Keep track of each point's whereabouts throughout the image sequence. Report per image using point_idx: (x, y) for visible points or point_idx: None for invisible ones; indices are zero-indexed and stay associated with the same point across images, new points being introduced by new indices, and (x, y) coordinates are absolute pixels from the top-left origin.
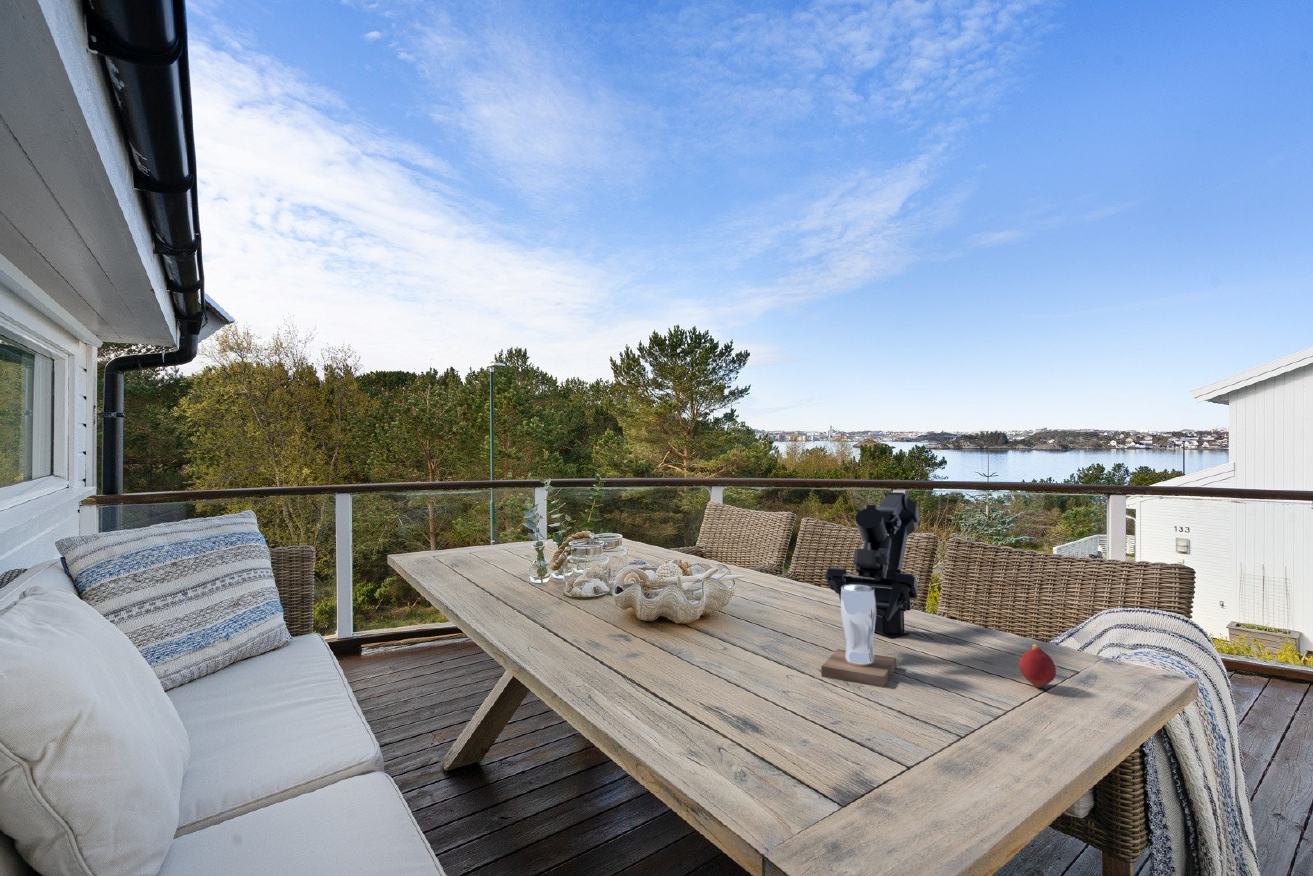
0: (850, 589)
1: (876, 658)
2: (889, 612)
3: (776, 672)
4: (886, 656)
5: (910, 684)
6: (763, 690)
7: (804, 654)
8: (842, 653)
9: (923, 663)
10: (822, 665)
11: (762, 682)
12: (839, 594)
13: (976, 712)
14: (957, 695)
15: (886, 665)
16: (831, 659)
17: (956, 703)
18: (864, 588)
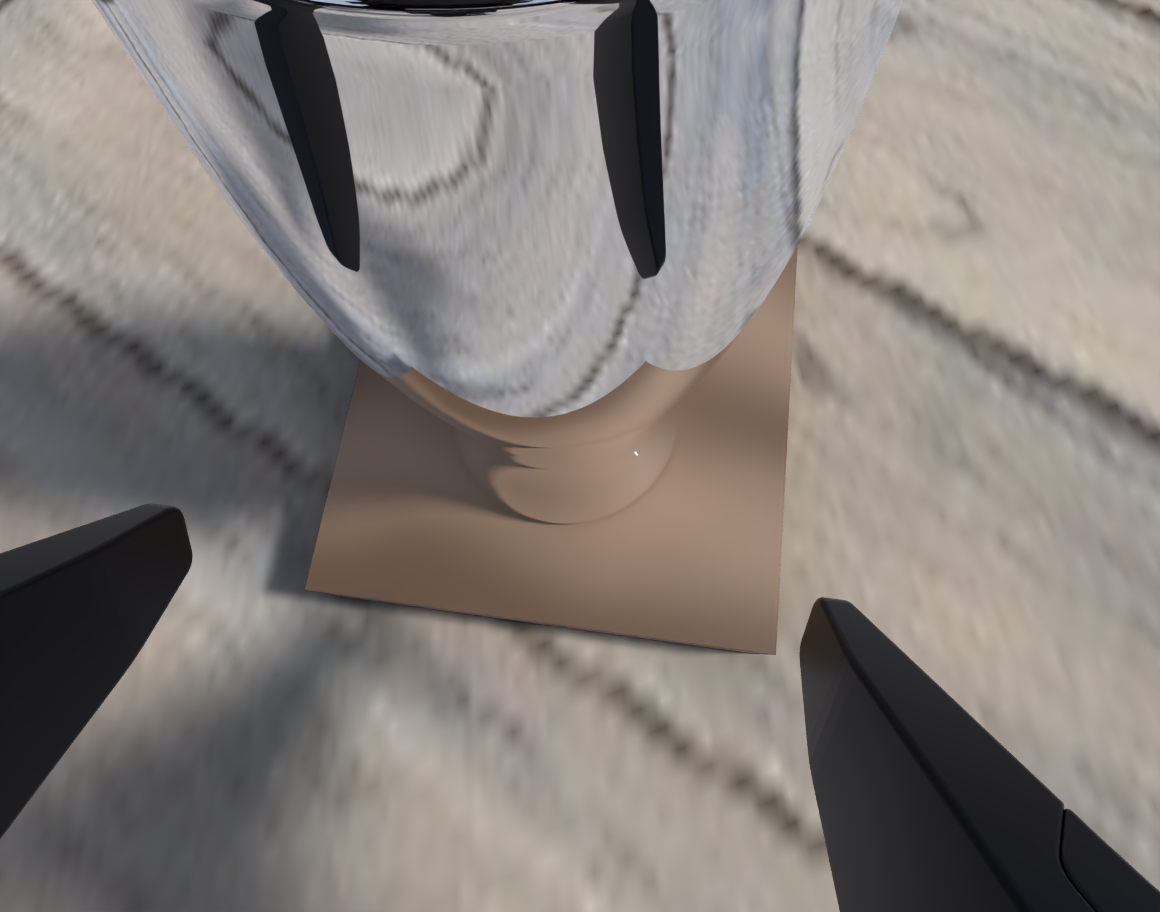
0: (762, 55)
1: (451, 520)
2: (77, 529)
3: (1052, 247)
4: (376, 594)
5: (269, 326)
6: (1004, 5)
7: (1022, 662)
8: (716, 549)
9: (127, 771)
10: (795, 252)
11: (1056, 90)
12: (1129, 867)
13: (6, 93)
14: (39, 257)
15: (380, 391)
16: (766, 384)
17: (72, 159)
18: (294, 63)
